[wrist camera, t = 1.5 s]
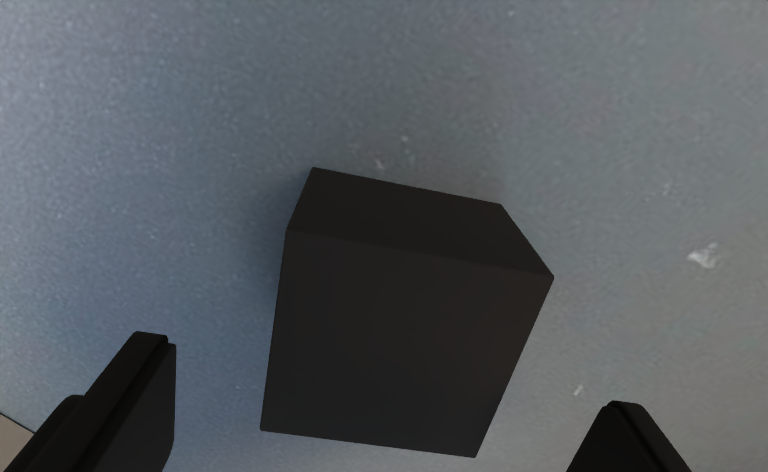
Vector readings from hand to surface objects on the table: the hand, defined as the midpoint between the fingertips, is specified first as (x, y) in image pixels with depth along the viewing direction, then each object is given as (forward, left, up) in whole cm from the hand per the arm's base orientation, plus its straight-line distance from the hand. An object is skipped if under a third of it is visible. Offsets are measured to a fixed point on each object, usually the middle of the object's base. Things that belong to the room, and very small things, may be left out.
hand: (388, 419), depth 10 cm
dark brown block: (0, 0, -6) cm, 6 cm away
